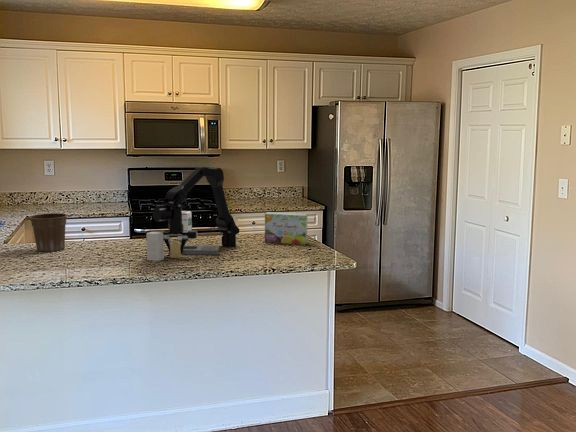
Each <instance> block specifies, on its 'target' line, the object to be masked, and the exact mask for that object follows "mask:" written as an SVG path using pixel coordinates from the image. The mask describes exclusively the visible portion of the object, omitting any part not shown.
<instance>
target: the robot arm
mask: <svg viewBox="0 0 576 432" xmlns="http://www.w3.org/2000/svg"><path fill="white" fill-rule="evenodd" d="M203 177H205V179H206V181H207V183H208V184H209V185H210V186H211V189H212V192H213V197H214V201H215V205H216V210H217V213H218V215H217V218H215V225H216V227H217V228H218V231H219V233H220V234H222V236H221V245H222V247H226V248H229V247H231V248H232V247H237V234H239V233H240V228H239V226H237V225H236V222H235V219H234V217H233V216H232V214H231V213H230V212H229V208H228V205H227V200H226V196H225V192H224V187H223V183H224V180H225V177H224V171H223V169H222V168H219V167H207V168H206V167H204V166H197V167H195V168H194V170H193V171H192V172H191V173H190V174H189V175H188V176H186V178H185V179H184V180H183V181H182V182H181V183H180V184H178V185H177V186H175V187H172V188H171V189H169V190H168V191H167V192H166V193H165V197H164V199H163V201H162V203H161V205H159V204H157V205H155V208H154V209H153V212H152V218H153V220H154V221H155V222H163V221H168V222H167V230H168V231H165V230H164V229H163V230H162V229H161V230H159V229H157V230H155V231H154V232H163V243H165V245H166V247H167V250H168V253H169V252H170V244H171V243H172V242H171V237H178V236H183V238H182V240H180V241H181V242H180V243H181V254H182V252H183V249H184V246H185V245H186V242H187V241H189V239H190V240H192V239H197V238H198V237H199V236H198V234H199V231H197V230H195V229H192V230H189V231H188V232H183V230H184V225H183V224H182V211H183V209H185V208H186V207H187V206H186V205H185V204H183V202H184V201H185V200H186V198H187V197H188V193H189V191H191V189H192V188H194V186H195V185H196V184H197V183H198V182H200V181H201V179H202V178H203Z"/></svg>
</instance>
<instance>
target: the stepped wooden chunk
mask: <svg viewBox="0 0 576 432" xmlns="http://www.w3.org/2000/svg"><path fill="white" fill-rule="evenodd" d="M170 243H171V244H170V255H169V256H170V258H171V259H181V258H182V257H183V255H182V254H181V242H180V240H173V241H172V242H170Z"/></svg>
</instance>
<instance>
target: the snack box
mask: <svg viewBox="0 0 576 432" xmlns="http://www.w3.org/2000/svg"><path fill="white" fill-rule="evenodd" d="M264 242H265V243H272V242H273V243H274V244H275V243H276V244H291V245H303V246H304V245H306V244H307V243H308V213H295V212H294V213H290V212H277V211H276V212H273V211H271V212H270V211H268V212H266V213H264Z"/></svg>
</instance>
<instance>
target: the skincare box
mask: <svg viewBox="0 0 576 432" xmlns="http://www.w3.org/2000/svg"><path fill="white" fill-rule="evenodd" d="M164 247H165V245H164V240H163V232H155V231H150V232H147V233H146V254H147V256H146V258H147V259H146V260H147V261H155V262H160V261H163V260H165V251H164Z"/></svg>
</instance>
